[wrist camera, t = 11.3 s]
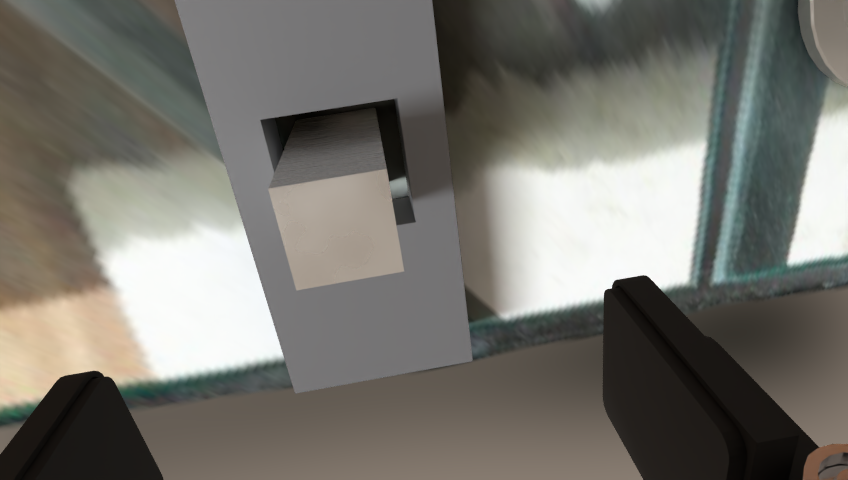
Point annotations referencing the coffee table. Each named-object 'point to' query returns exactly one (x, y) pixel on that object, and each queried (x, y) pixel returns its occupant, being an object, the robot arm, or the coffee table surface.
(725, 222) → the coffee table surface
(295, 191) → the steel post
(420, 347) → the grey block with hole
